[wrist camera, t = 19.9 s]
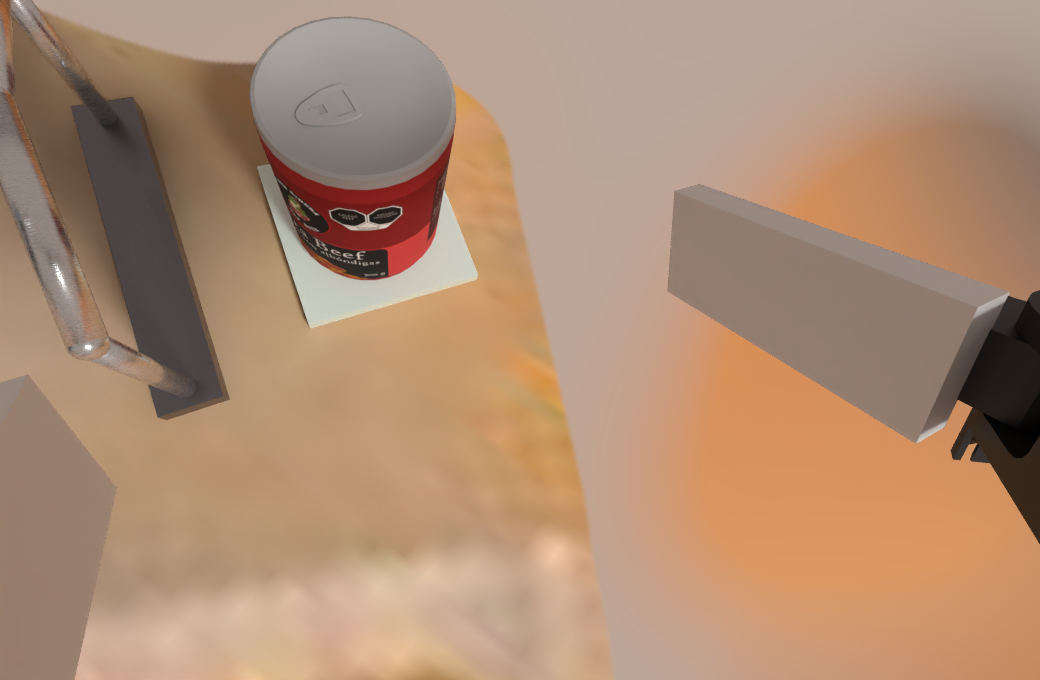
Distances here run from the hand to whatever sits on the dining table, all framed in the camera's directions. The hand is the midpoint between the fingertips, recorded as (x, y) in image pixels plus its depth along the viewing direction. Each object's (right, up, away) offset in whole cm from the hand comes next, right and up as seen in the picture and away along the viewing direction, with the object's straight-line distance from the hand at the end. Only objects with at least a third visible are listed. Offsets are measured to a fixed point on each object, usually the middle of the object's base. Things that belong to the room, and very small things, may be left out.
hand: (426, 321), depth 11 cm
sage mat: (-7, +6, +21) cm, 23 cm away
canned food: (-7, +6, +20) cm, 22 cm away
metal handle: (-18, +4, +18) cm, 25 cm away
